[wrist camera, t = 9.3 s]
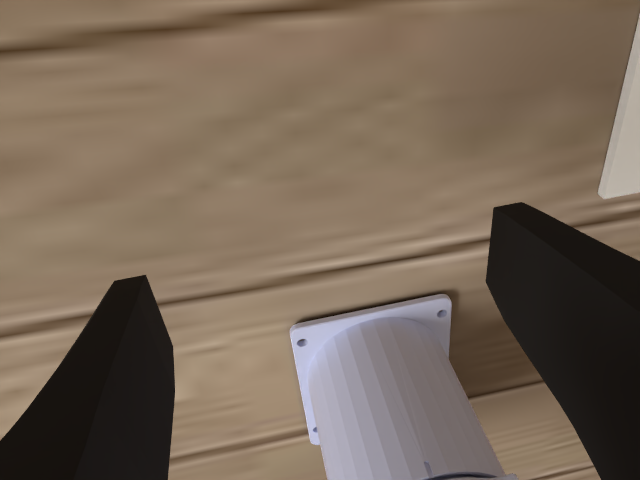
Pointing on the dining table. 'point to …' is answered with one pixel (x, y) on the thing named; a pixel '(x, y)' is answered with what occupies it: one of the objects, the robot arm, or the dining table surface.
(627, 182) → the mat
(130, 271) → the dining table surface
